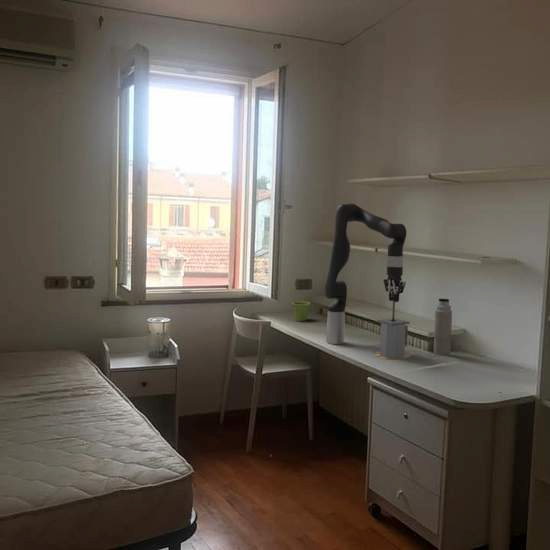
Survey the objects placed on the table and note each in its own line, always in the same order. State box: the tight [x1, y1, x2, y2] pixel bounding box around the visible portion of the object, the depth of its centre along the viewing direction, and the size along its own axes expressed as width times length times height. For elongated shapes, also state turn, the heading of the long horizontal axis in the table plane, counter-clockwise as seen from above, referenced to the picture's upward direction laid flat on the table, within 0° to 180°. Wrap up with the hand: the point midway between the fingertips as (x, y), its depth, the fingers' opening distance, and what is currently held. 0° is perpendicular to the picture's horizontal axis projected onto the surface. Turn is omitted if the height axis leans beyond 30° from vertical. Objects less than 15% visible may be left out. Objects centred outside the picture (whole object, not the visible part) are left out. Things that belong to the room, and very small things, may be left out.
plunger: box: [391, 291, 396, 321], centre depth 297 cm, size 8×8×19 cm
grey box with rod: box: [376, 317, 411, 358], centre depth 300 cm, size 11×14×17 cm
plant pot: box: [291, 301, 310, 322], centre depth 397 cm, size 12×12×11 cm
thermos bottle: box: [433, 298, 453, 357], centre depth 304 cm, size 8×8×28 cm
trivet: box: [373, 351, 412, 361], centre depth 300 cm, size 18×18×1 cm
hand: (393, 301), depth 297 cm, fingers closed on plunger, 3 cm apart
